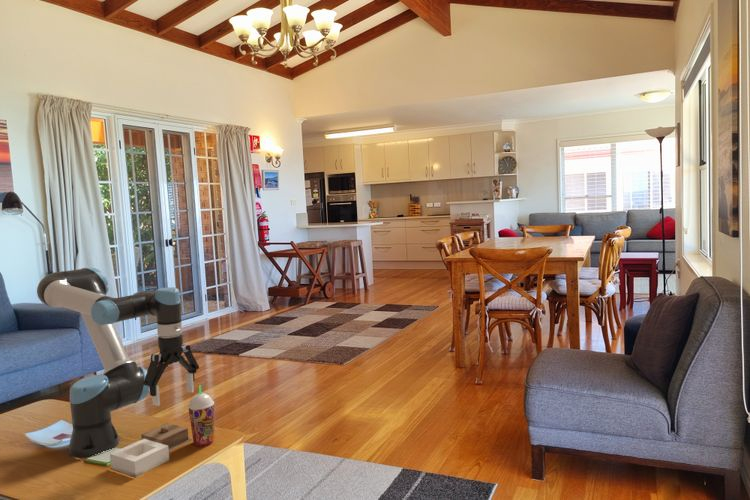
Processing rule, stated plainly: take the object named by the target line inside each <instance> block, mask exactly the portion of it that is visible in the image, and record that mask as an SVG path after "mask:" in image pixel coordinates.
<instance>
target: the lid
mask: <svg viewBox="0 0 750 500" xmlns="http://www.w3.org/2000/svg"><path fill="white" fill-rule="evenodd" d="M140 436H141V437H140V438H141V440H142V439H147V440H150V441H154V442H157V443H161V444H164V445H168V448H169V449H170V448H172V447H174V446H176V445H179V444H181V443H183V442H185V441H187V440H189V439H190V437H189V428H188V427H184V426H180V425H177V424H173V423H169V422H167V423H164V424H162V425H160V426H158V427H155V428H153V429H150V430H148V431H146V432H143V433H141V434H140ZM189 441H190V440H189ZM187 442H188V441H187ZM185 443H186V442H185ZM183 444H184V443H183ZM181 445H182V444H181ZM179 446H180V445H179Z"/></svg>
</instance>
